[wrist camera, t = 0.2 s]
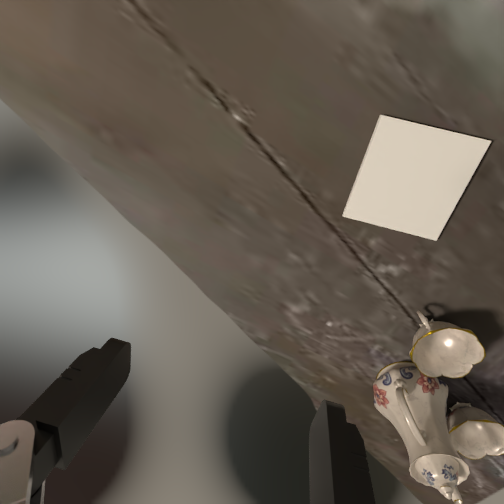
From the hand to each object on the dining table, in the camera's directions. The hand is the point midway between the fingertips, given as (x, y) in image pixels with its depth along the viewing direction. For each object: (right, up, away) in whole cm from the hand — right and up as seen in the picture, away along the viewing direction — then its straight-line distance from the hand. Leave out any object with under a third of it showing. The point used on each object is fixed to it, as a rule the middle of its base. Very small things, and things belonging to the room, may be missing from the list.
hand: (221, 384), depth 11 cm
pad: (+20, +14, +22) cm, 33 cm away
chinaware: (+29, -14, +34) cm, 47 cm away
